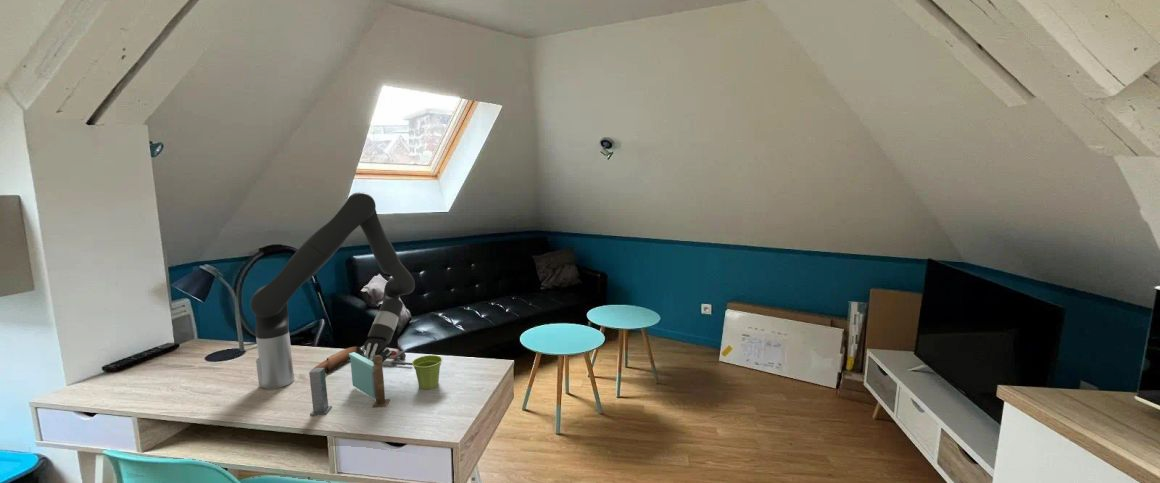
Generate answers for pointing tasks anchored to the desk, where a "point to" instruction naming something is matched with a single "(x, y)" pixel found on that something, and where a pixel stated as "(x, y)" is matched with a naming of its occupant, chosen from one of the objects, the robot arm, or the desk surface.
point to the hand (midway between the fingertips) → (363, 376)
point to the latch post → (319, 392)
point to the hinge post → (379, 383)
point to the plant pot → (427, 371)
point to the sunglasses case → (336, 360)
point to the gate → (363, 374)
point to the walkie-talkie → (395, 358)
